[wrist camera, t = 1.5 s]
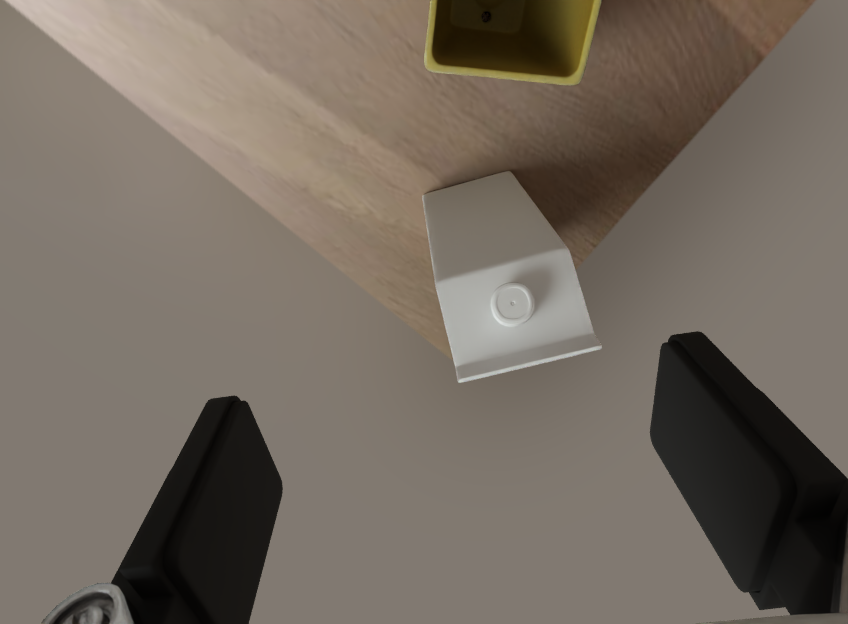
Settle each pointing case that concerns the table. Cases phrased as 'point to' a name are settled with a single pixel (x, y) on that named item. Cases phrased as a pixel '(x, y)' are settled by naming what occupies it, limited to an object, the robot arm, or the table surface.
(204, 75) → the table surface
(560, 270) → the milk carton
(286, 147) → the table surface
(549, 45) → the flower pot
